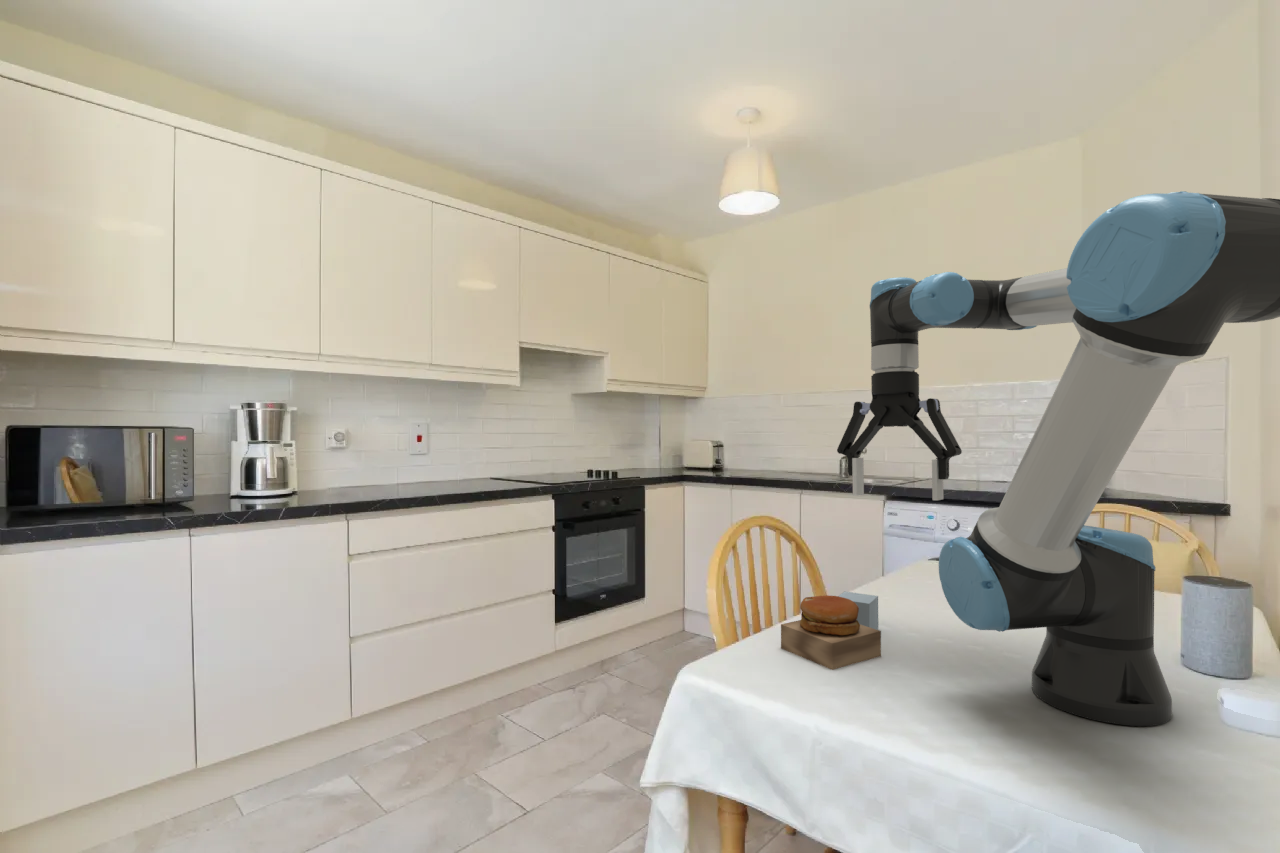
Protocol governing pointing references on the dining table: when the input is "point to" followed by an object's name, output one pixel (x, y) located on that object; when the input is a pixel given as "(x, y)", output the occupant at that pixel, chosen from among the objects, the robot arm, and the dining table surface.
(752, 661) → the dining table surface
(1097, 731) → the dining table surface
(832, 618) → the burger
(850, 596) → the slate cube
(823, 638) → the walnut block
